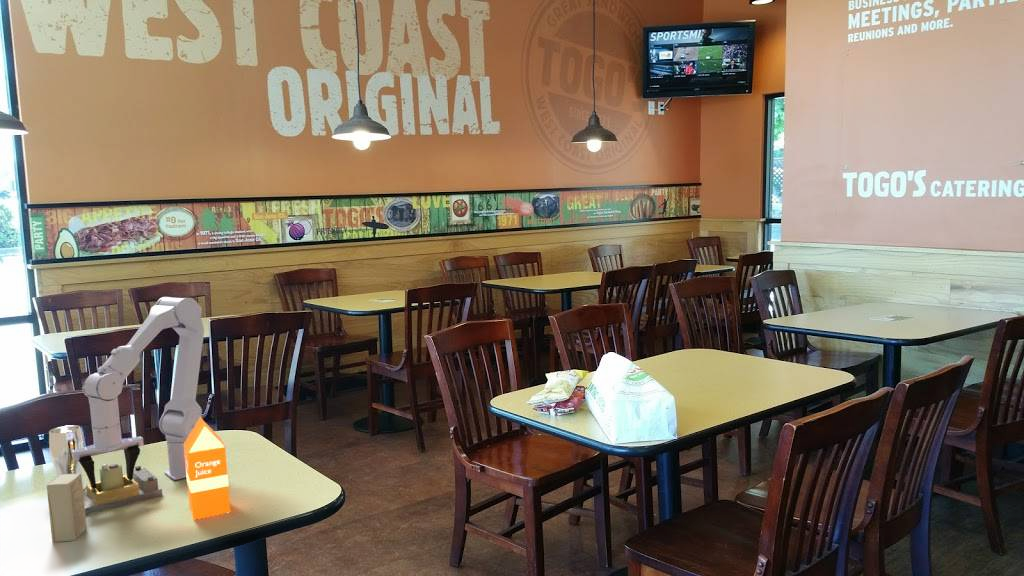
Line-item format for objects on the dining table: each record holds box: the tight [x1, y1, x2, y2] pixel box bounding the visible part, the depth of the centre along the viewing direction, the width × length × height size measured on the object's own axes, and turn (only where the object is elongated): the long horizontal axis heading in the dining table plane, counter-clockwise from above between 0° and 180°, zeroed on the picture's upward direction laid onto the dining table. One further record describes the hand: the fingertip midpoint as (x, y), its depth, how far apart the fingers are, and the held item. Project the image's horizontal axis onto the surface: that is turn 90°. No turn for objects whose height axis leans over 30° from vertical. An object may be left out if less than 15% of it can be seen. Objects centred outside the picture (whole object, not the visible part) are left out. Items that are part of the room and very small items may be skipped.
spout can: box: [99, 463, 124, 492], centre depth 183 cm, size 5×5×7 cm
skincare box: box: [46, 473, 87, 543], centre depth 163 cm, size 6×4×12 cm
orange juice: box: [184, 417, 231, 521], centre depth 174 cm, size 8×9×20 cm
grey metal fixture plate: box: [83, 465, 163, 516], centre depth 183 cm, size 18×12×5 cm, turn 130°
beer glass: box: [48, 425, 86, 491], centre depth 190 cm, size 7×7×15 cm
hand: (112, 483), depth 183 cm, fingers open, 7 cm apart
